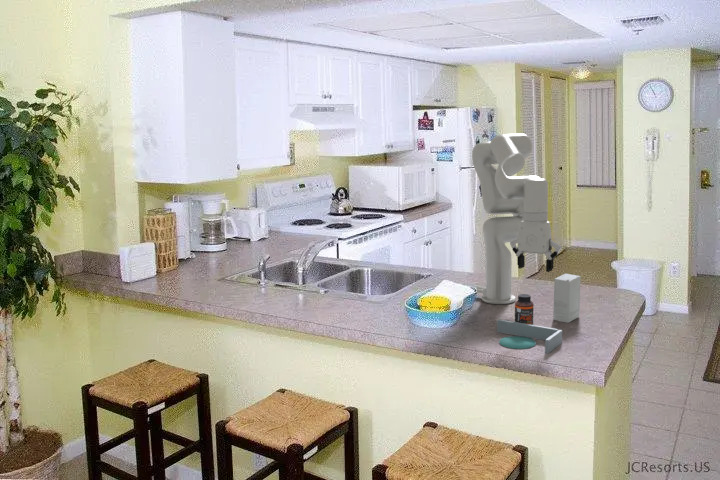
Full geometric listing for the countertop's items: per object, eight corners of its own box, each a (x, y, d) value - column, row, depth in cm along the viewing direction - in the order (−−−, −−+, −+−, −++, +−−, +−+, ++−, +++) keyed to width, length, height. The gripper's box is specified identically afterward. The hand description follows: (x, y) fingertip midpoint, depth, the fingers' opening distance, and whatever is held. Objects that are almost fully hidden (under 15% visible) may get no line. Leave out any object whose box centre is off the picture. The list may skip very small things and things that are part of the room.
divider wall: (482, 341, 215) (482, 328, 214) (498, 331, 224) (498, 319, 223) (548, 353, 202) (548, 340, 202) (562, 342, 211) (562, 329, 211)
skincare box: (564, 314, 239) (564, 272, 237) (580, 317, 235) (581, 275, 232) (552, 320, 233) (553, 277, 231) (569, 323, 229) (570, 280, 226)
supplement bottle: (520, 332, 222) (520, 298, 220) (511, 327, 228) (511, 294, 226) (536, 330, 224) (537, 296, 222) (527, 325, 229) (527, 292, 227)
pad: (493, 344, 211) (493, 344, 211) (508, 335, 220) (508, 334, 220) (526, 351, 205) (526, 350, 205) (541, 340, 213) (541, 339, 213)
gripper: (505, 217, 222) (505, 268, 225) (556, 220, 211) (555, 274, 214) (516, 214, 228) (516, 264, 231) (566, 217, 217) (565, 270, 220)
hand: (535, 269), depth 223 cm, fingers open, 9 cm apart
